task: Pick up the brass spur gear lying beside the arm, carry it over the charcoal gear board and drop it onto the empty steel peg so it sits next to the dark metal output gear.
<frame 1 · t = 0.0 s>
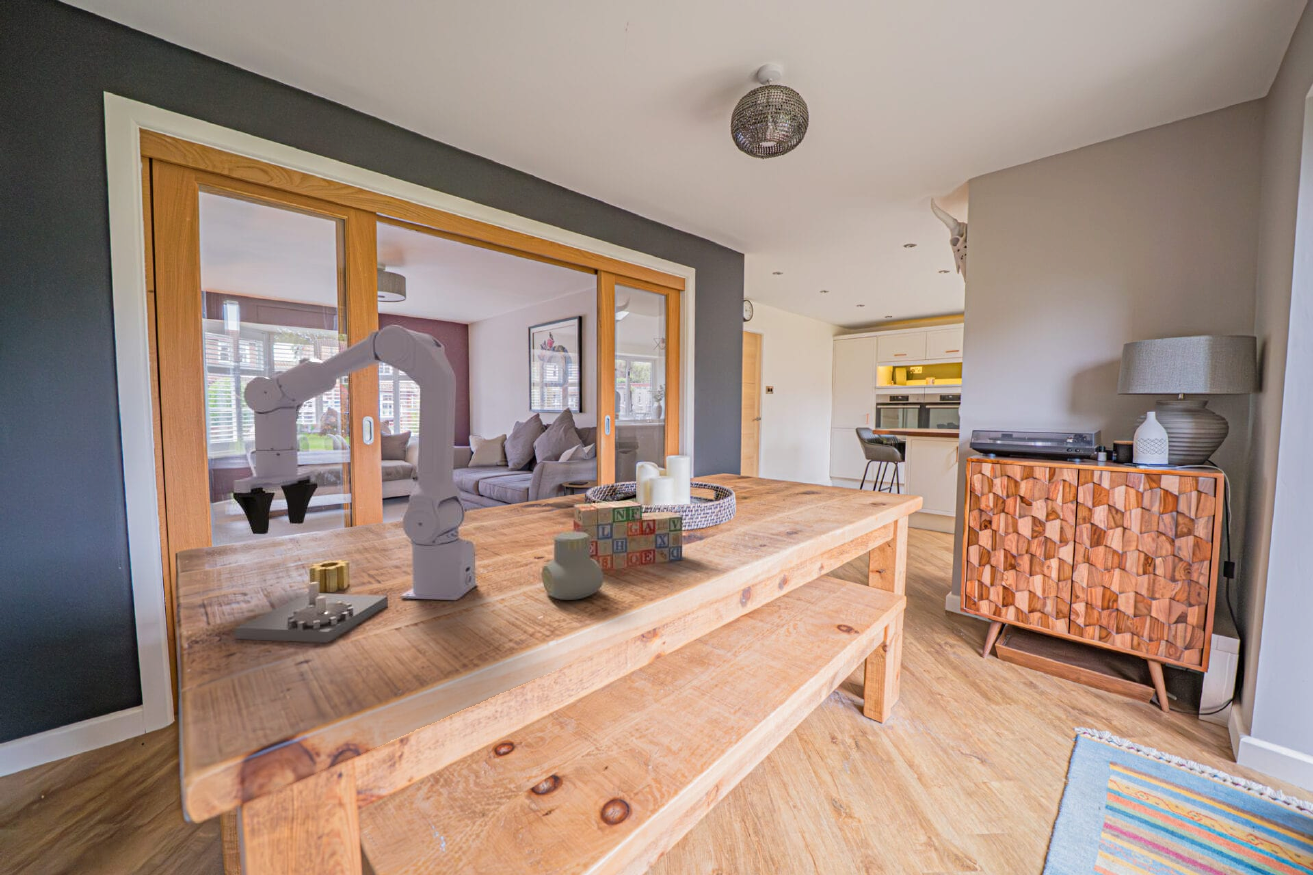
hand: (279, 528, 87), 10 cm above the table, fingers open, 7 cm apart
output gear: (321, 615, 70), point 1 cm above the table
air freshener: (572, 595, 85), on the table
gear board: (317, 620, 73), on the table
stack of blocks: (628, 563, 103), on the table
brass gear: (330, 587, 87), on the table
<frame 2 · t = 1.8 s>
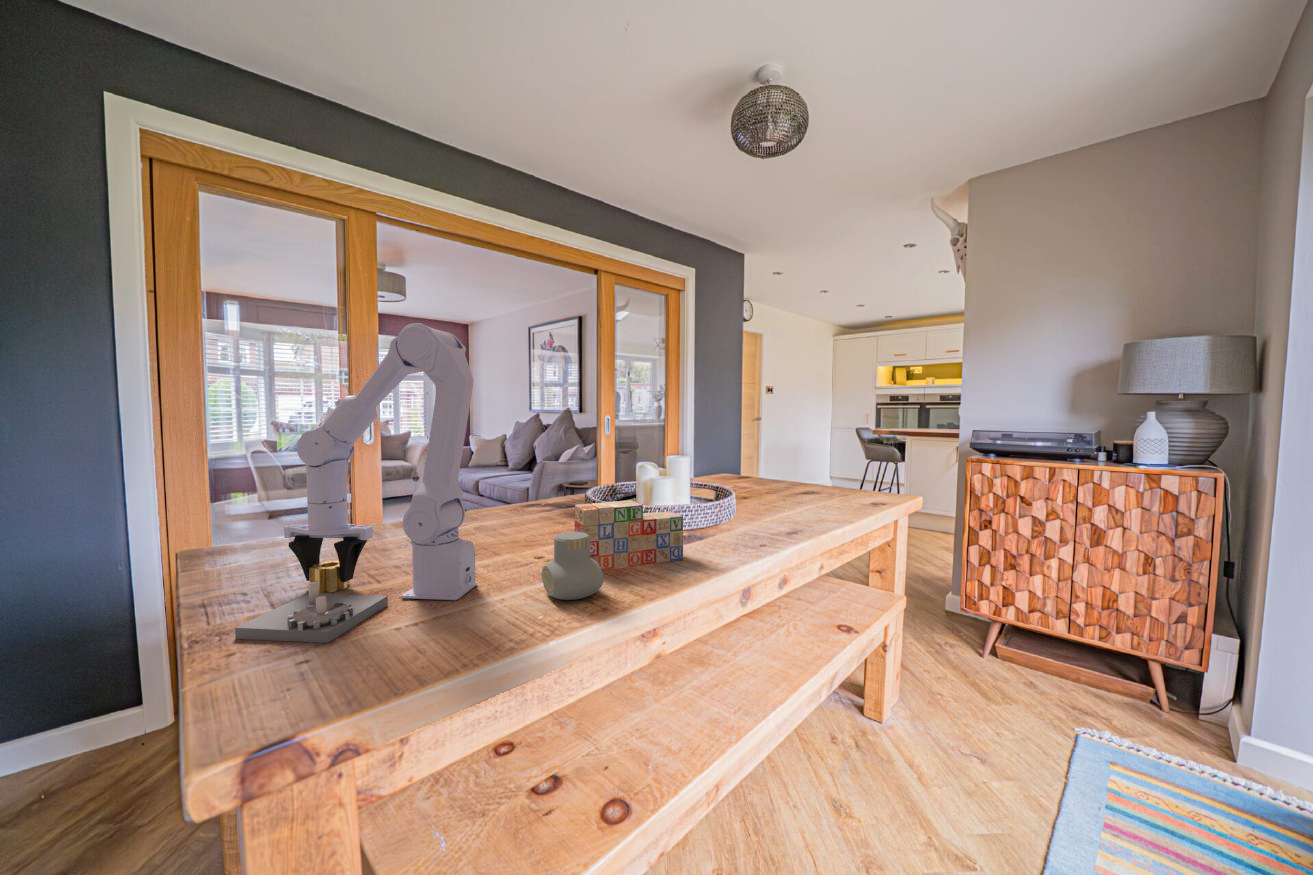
hand: (329, 579, 87), 1 cm above the table, fingers closed on brass gear, 6 cm apart
brass gear: (330, 587, 87), on the table, touching gripper
everything else where it was.
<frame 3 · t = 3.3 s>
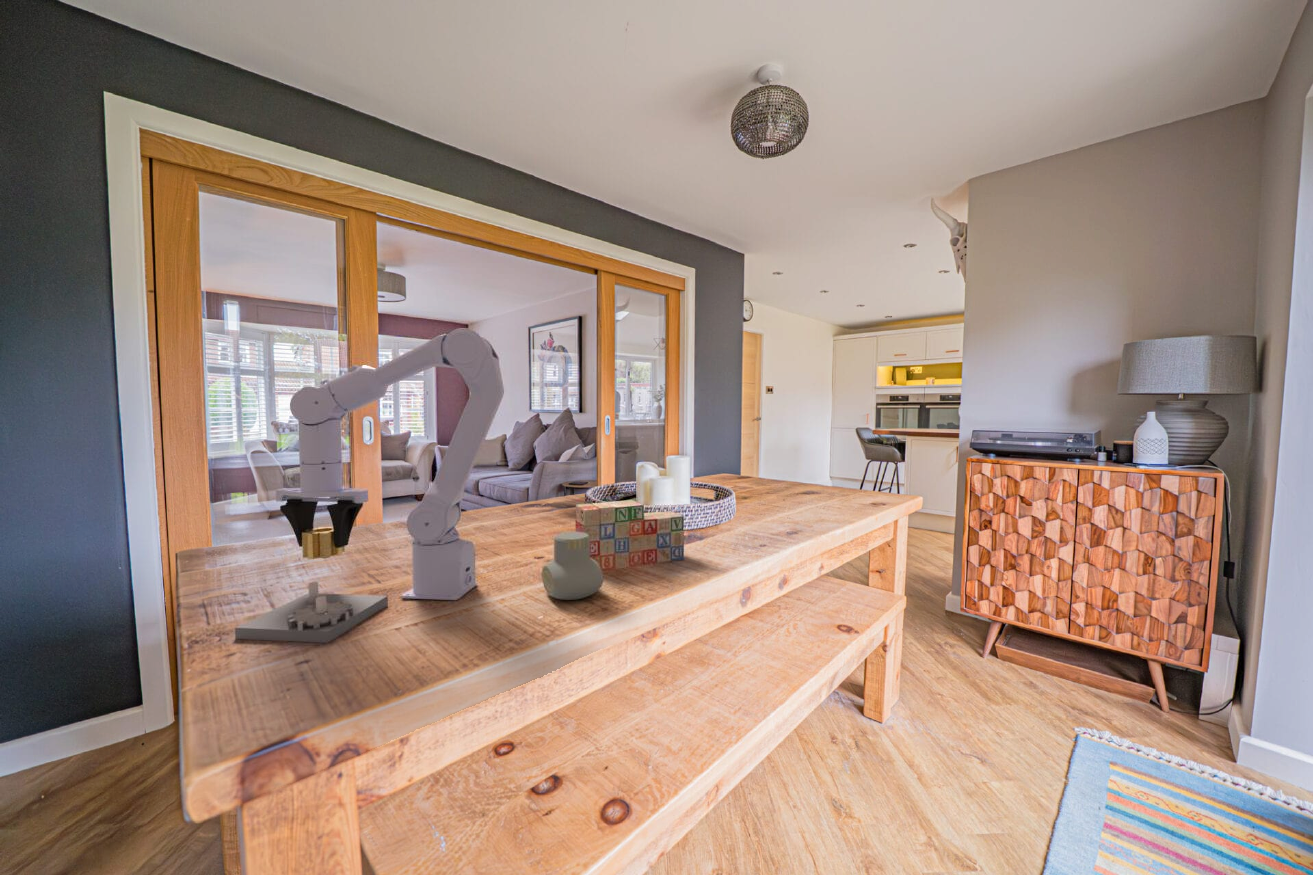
hand: (323, 545, 83), 8 cm above the table, fingers closed on brass gear, 6 cm apart
brass gear: (323, 554, 83), point 7 cm above the table, touching gripper
everything else where it was.
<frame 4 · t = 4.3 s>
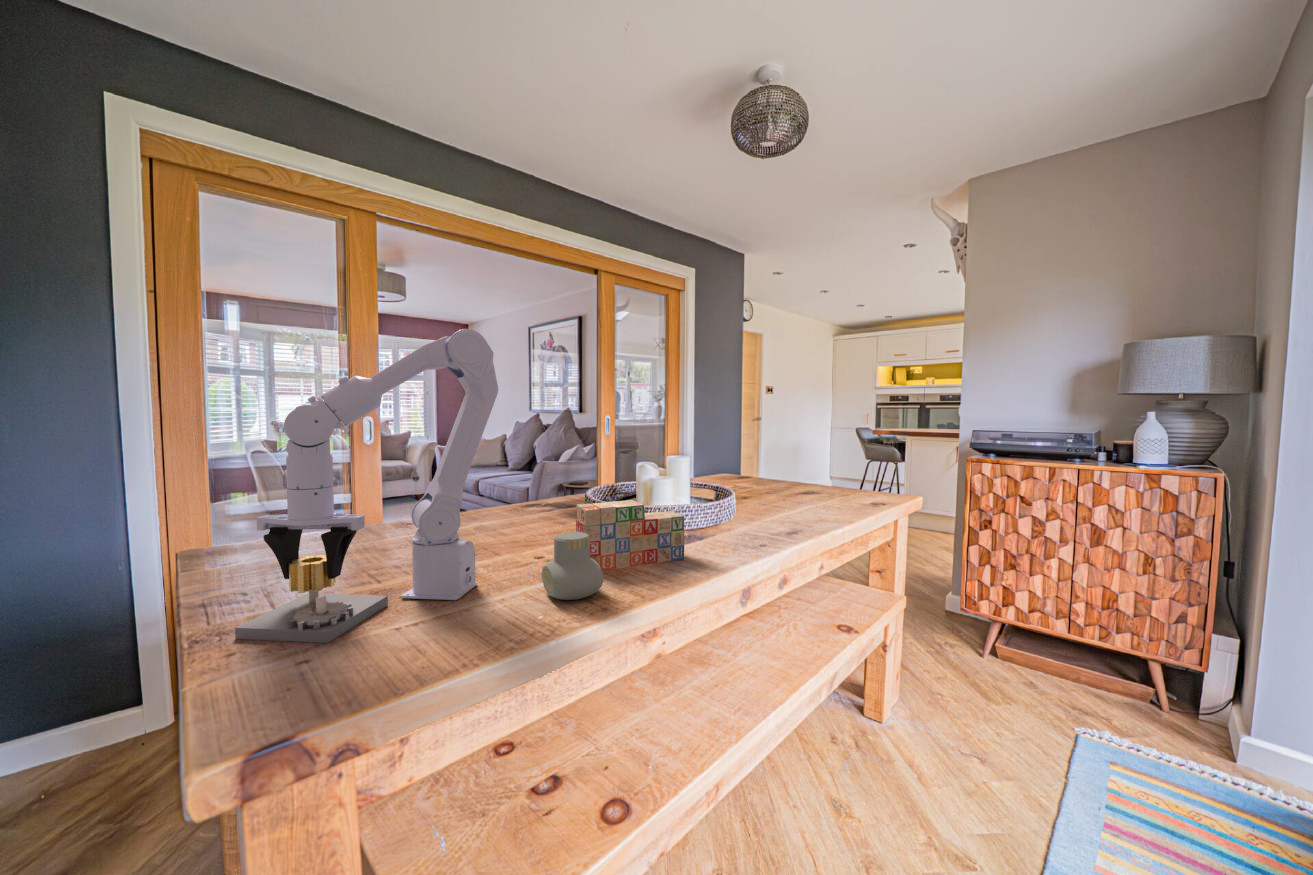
hand: (312, 576, 76), 5 cm above the table, fingers closed on brass gear, 6 cm apart
brass gear: (313, 586, 76), point 4 cm above the table, touching gripper
everything else where it was.
when the fingers open (4 cm above the table, at t = 5.2 s): brass gear stays where it is, resting on gear board.
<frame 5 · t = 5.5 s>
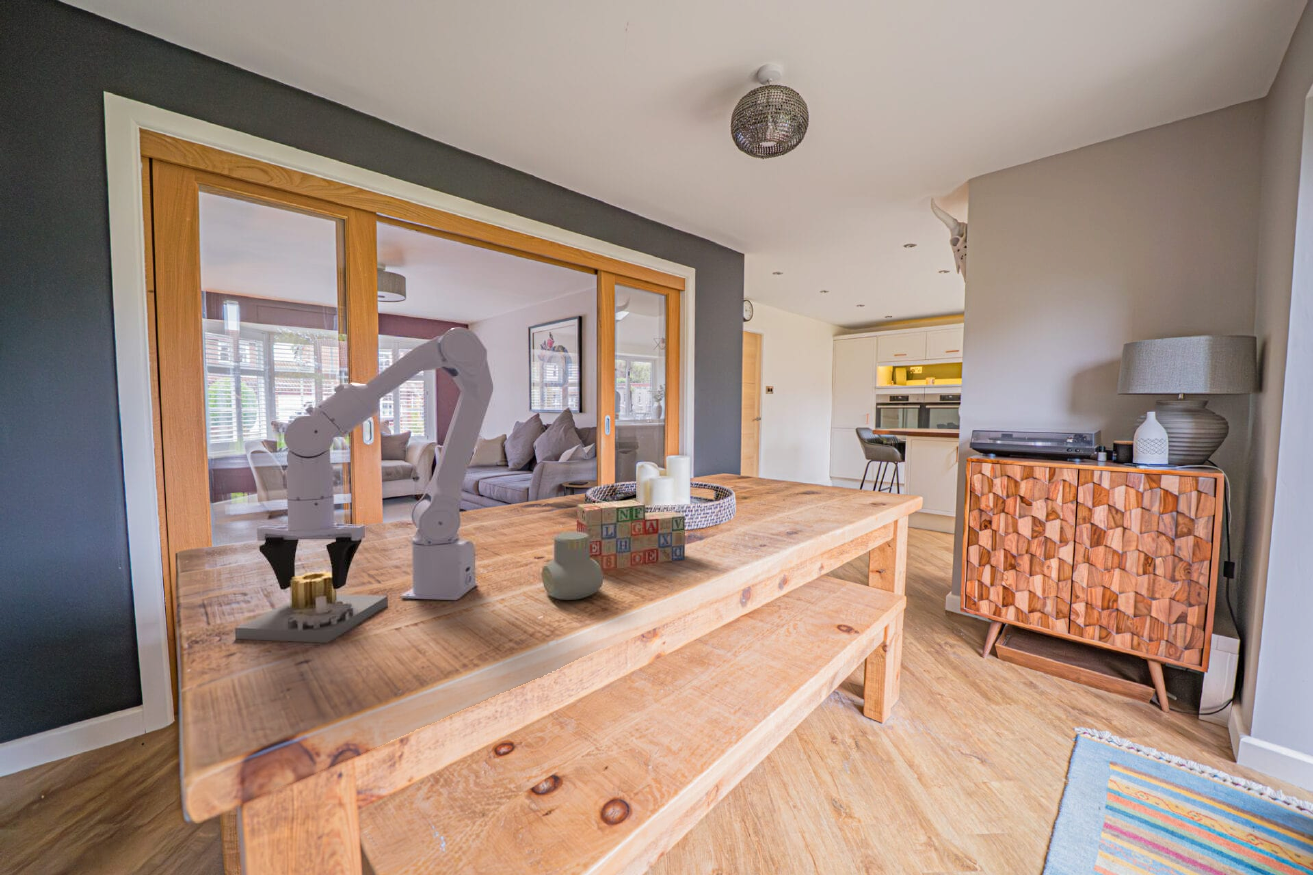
hand: (313, 586, 76), 4 cm above the table, fingers open, 7 cm apart
brass gear: (314, 602, 76), point 1 cm above the table, touching gear board
everything else where it was.
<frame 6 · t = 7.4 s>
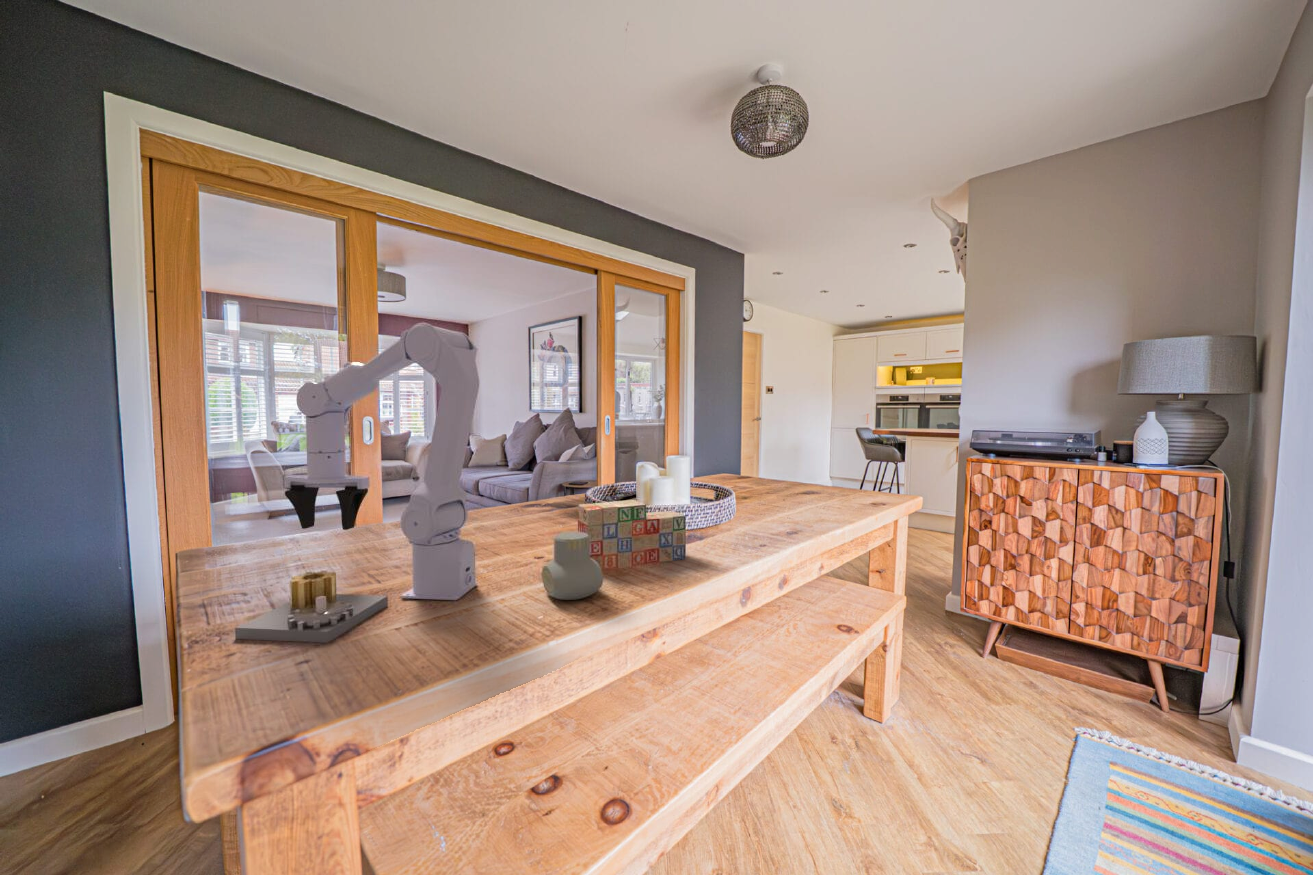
hand: (328, 527, 90), 9 cm above the table, fingers open, 7 cm apart
nothing on the table moved.
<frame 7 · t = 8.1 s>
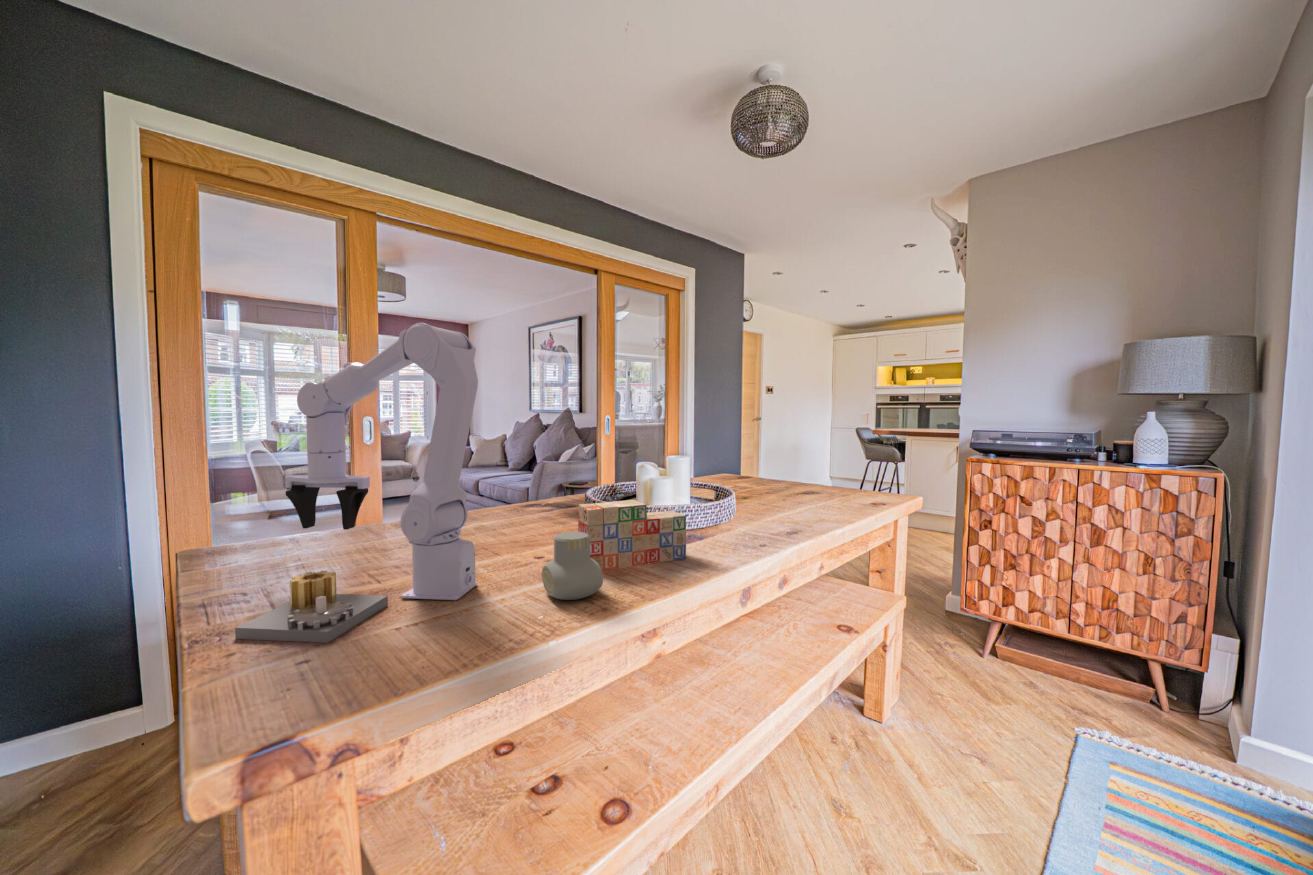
hand: (328, 527, 91), 9 cm above the table, fingers open, 7 cm apart
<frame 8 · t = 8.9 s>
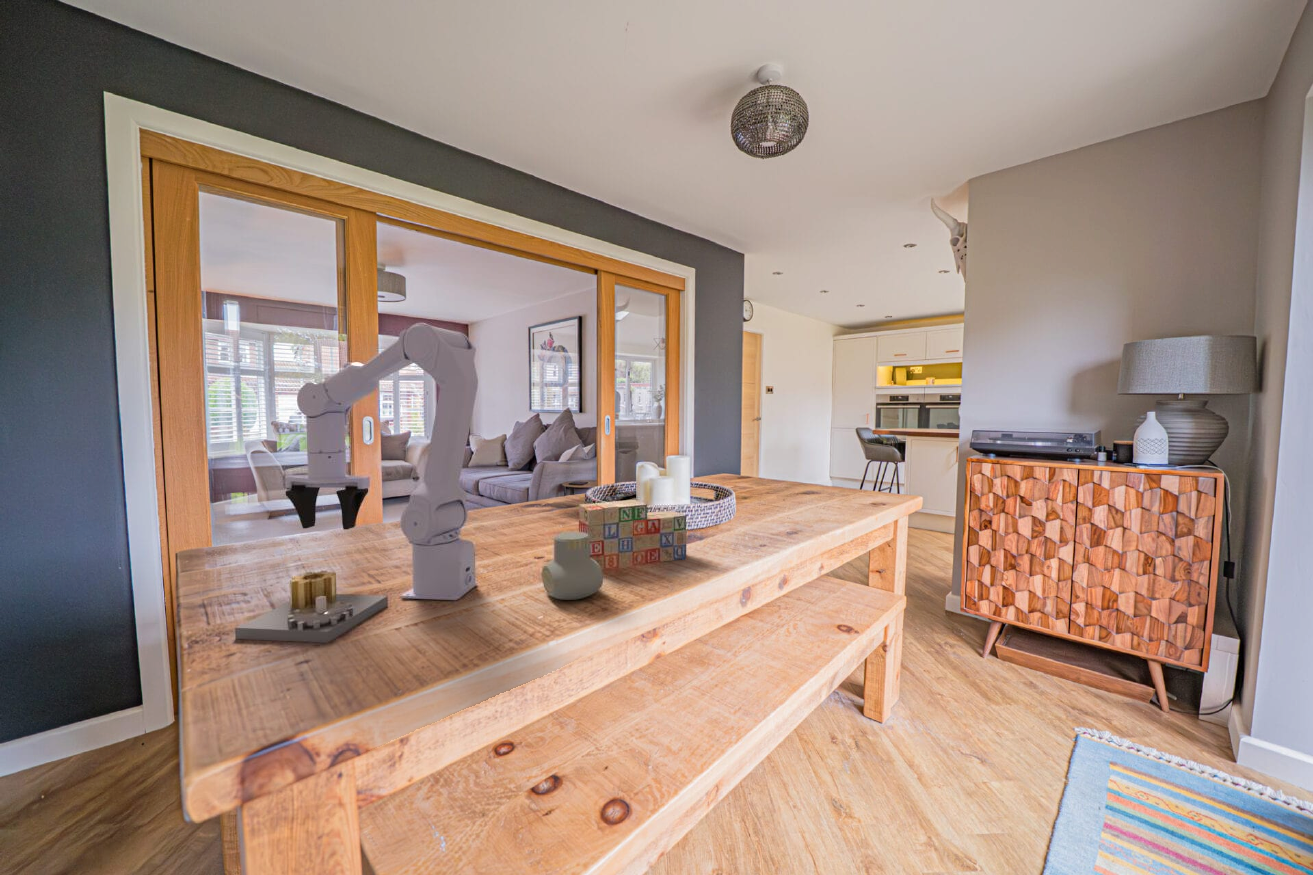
hand: (328, 527, 91), 9 cm above the table, fingers open, 7 cm apart
at the end: brass gear 0.0 cm from the target spot on the gear board, point 1.5 cm above the gear board's base; the gripper is holding nothing; brass gear tilted 0° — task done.
